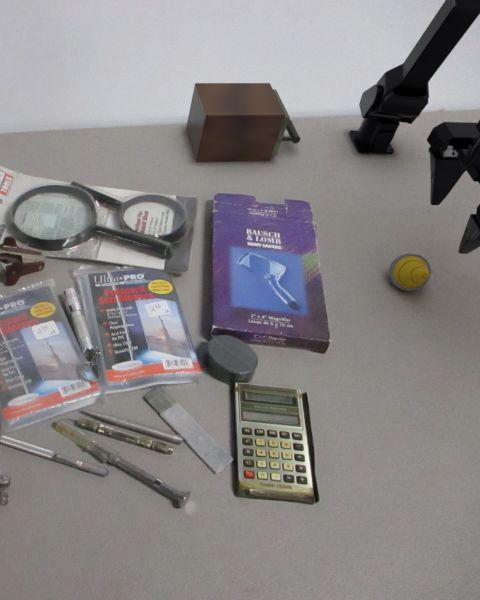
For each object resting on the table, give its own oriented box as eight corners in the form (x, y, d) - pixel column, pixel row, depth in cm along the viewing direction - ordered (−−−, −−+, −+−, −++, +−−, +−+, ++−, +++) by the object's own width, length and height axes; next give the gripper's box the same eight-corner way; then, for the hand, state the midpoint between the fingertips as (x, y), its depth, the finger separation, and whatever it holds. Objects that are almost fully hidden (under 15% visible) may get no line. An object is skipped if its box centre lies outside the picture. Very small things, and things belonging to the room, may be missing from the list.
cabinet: (256, 128, 112) (269, 82, 104) (269, 161, 105) (285, 114, 98) (185, 129, 111) (194, 82, 104) (195, 162, 104) (205, 115, 97)
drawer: (285, 126, 111) (298, 89, 105) (299, 155, 105) (313, 117, 99) (198, 127, 110) (207, 89, 104) (208, 155, 104) (217, 117, 98)
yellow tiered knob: (425, 280, 89) (457, 285, 79) (390, 294, 90) (416, 300, 80) (412, 247, 88) (441, 248, 79) (376, 261, 89) (401, 264, 80)
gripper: (641, 179, 60) (544, 282, 72) (547, 81, 72) (477, 183, 84) (533, 177, 60) (453, 280, 72) (457, 79, 72) (399, 181, 84)
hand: (447, 227), depth 78 cm, fingers open, 9 cm apart
